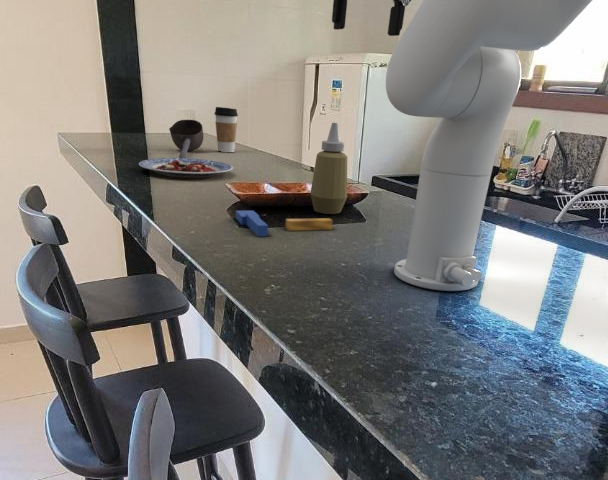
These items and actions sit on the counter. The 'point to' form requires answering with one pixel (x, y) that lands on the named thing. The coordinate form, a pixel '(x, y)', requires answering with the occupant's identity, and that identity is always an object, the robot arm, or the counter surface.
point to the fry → (309, 224)
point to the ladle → (187, 136)
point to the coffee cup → (226, 128)
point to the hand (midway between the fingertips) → (366, 32)
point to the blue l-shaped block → (252, 222)
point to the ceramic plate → (186, 167)
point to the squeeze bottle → (330, 175)
